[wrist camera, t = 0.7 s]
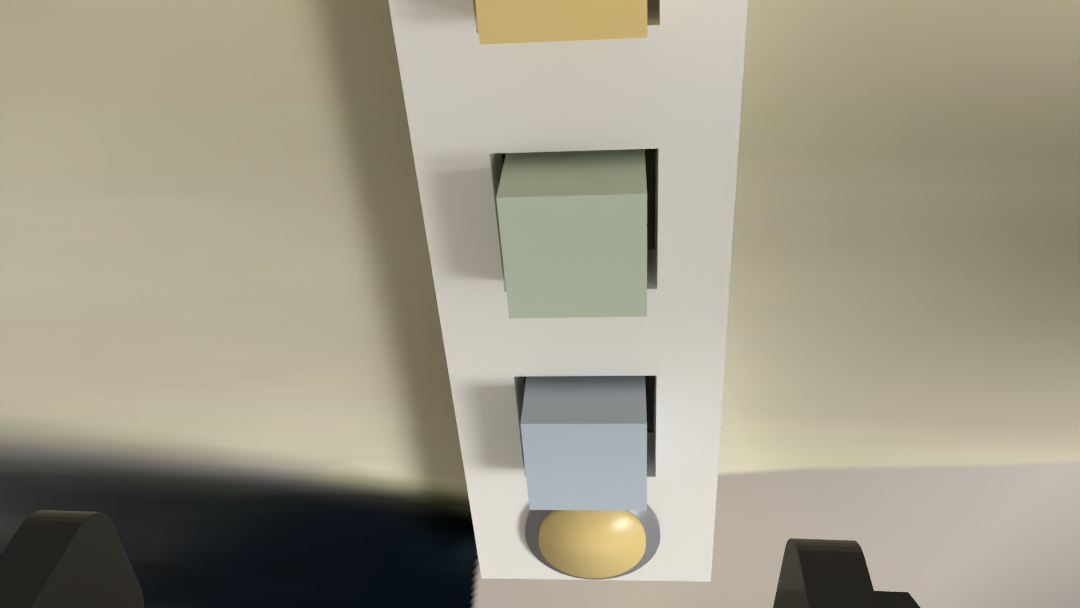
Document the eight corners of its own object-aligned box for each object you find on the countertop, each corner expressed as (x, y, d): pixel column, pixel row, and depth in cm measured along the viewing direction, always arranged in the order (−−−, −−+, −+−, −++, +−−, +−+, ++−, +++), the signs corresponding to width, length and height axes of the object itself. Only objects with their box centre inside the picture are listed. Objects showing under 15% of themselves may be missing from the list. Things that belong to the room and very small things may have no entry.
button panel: (754, -311, 23) (771, -305, 21) (706, 535, 42) (711, 595, 39) (367, -281, 24) (336, -273, 21) (488, 533, 43) (479, 591, 40)
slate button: (645, 368, 34) (647, 423, 32) (644, 453, 37) (646, 510, 34) (527, 369, 35) (520, 423, 32) (535, 453, 37) (529, 509, 35)
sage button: (644, 147, 29) (646, 193, 26) (644, 264, 31) (647, 316, 29) (506, 152, 29) (496, 197, 27) (517, 266, 32) (509, 318, 29)
